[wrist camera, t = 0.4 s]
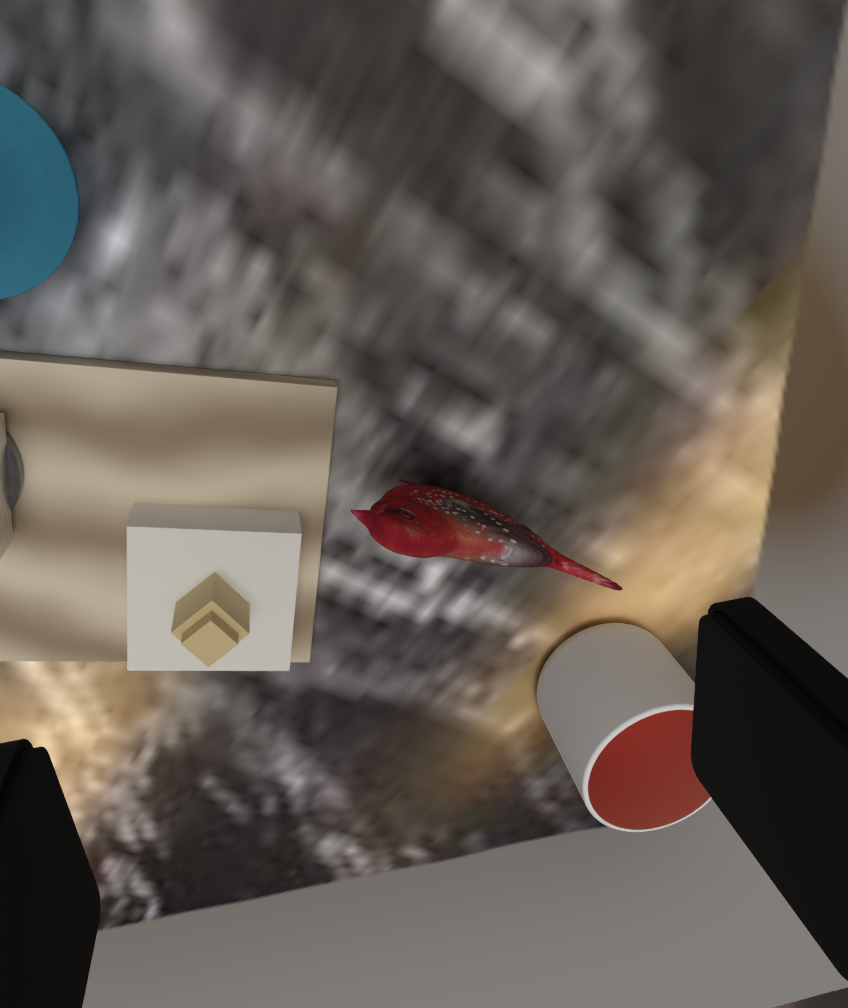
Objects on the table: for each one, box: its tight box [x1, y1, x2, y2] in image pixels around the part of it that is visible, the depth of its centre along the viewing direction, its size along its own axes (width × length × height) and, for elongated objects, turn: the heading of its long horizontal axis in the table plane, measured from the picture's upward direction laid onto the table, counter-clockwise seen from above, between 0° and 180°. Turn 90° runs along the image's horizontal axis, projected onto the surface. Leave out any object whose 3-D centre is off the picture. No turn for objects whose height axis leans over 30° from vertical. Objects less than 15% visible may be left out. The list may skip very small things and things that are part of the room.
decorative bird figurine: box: [351, 479, 623, 590], centre depth 45 cm, size 3×18×10 cm, turn 65°
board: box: [0, 351, 338, 662], centre depth 44 cm, size 18×26×2 cm
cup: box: [537, 623, 712, 832], centre depth 53 cm, size 10×10×10 cm
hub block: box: [127, 503, 302, 671], centre depth 43 cm, size 9×9×7 cm
